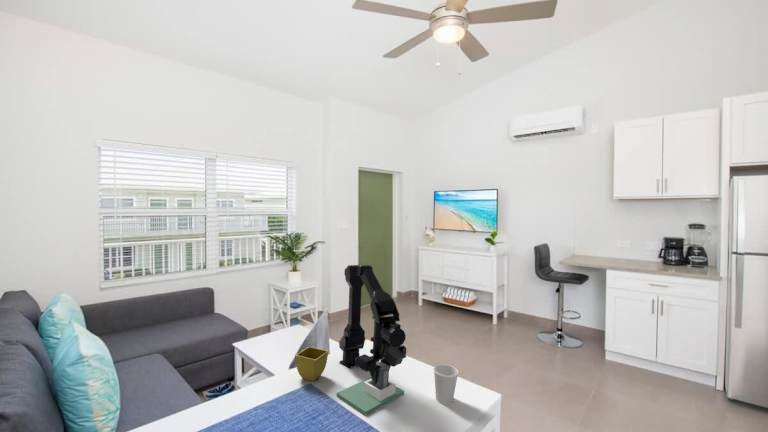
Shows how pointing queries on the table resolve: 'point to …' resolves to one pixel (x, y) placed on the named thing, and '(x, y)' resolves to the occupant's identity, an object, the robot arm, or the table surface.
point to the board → (369, 396)
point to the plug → (382, 377)
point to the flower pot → (311, 362)
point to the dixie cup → (445, 383)
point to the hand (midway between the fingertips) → (379, 381)
